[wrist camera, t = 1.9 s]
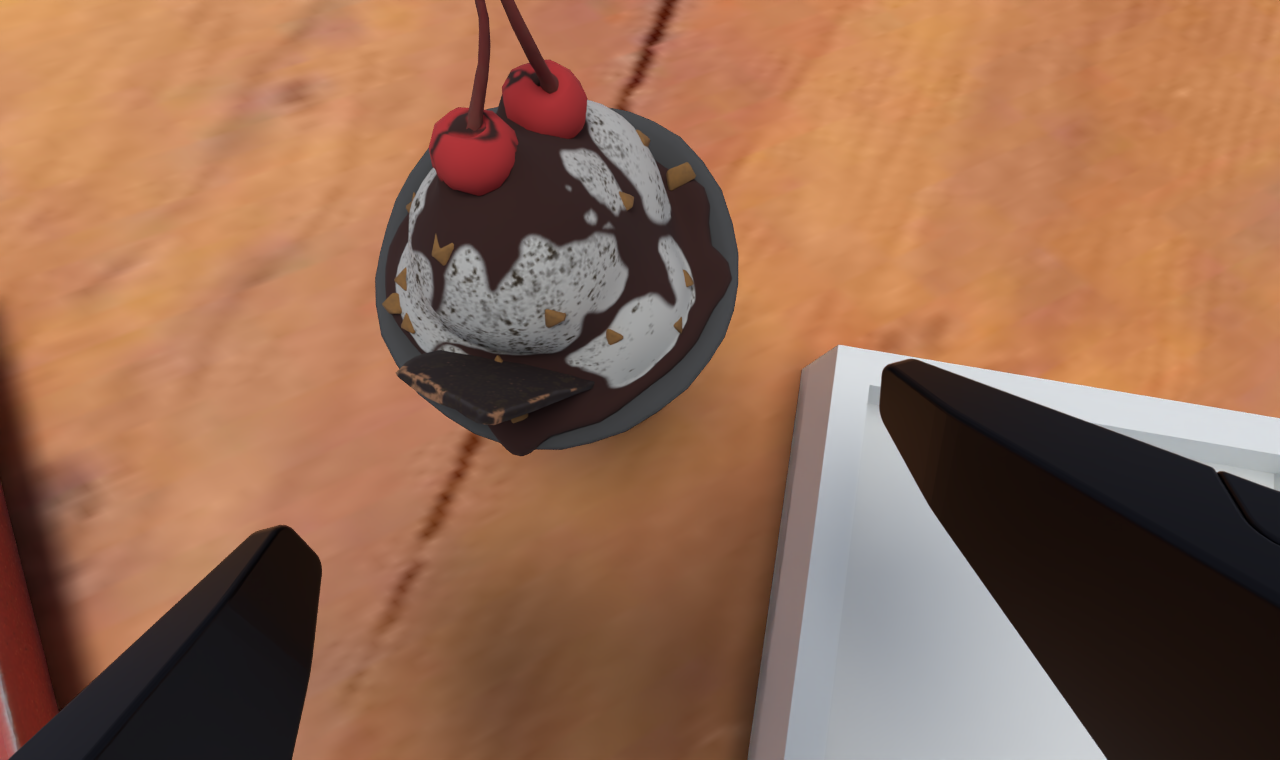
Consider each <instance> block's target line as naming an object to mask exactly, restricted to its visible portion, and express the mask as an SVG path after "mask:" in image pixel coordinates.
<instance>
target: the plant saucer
mask: <svg viewBox="0 0 1280 760" xmlns="http://www.w3.org/2000/svg"><path fill="white" fill-rule="evenodd" d="M58 713H59V711H58V706H57V703H56V699H55V695H54V691H53V687H52V683H51V679H50V675H49V671H48V666H47V662H46V658H45V654H44V650H43V647H42V643H41V639H40V635H39V632H38V628H37V624H36V620H35V617H34V613H33V609H32V605H31V601H30V597H29V593H28V589H27V585H26V581H25V577H24V573H23V569H22V565H21V561H20V557H19V553H18V549H17V545H16V541H15V537H14V533H13V529H12V525H11V521H10V517H9V513H8V509H7V505H6V501H5V497H4V493H3V489H2V485H1V481H0V760H8V759H9V758H10V757H11V756H12V755H13V754H14V753H15V752H16V751H18V750H19V749H20V748H21V747H22V746H23V745H24V744H25V743H26V742H27V741H28V740H29V739H31V738H32V737H33V736H34V735H35V734H36V733H37V732H38V731H39V730H40V729H41V728H42V727H44V726H45V725H46V724H47V723H48V722H49V721H50V720H51V719H52V718H53V717H54V716H55V715H57V714H58Z"/></svg>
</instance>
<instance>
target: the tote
mask: <svg viewBox="0 0 1280 760" xmlns="http://www.w3.org/2000/svg"><path fill="white" fill-rule="evenodd" d="M906 359H917V360H920V361H923V362H925V363H928V364H931V365H934V366H936V367H939V368H942V369H945V370H947V371H950V372H953V373H955V374H958V375H961V376H964V377H966V378H969V379H972V380H975V381H977V382H980V383H983V384H986V385H988V386H991V387H994V388H997V389H999V390H1002V391H1005V392H1008V393H1010V394H1013V395H1016V396H1019V397H1021V398H1024V399H1027V400H1030V401H1032V402H1035V403H1038V404H1041V405H1043V406H1046V407H1049V408H1051V409H1054V410H1057V411H1060V412H1062V413H1065V414H1068V415H1071V416H1073V417H1076V418H1079V419H1082V420H1084V421H1087V422H1090V423H1093V424H1095V425H1098V426H1101V427H1104V428H1106V429H1109V430H1112V431H1115V432H1117V433H1120V434H1123V435H1126V436H1128V437H1131V438H1134V439H1136V440H1139V441H1142V442H1145V443H1147V444H1150V445H1153V446H1156V447H1158V448H1161V449H1164V450H1167V451H1169V452H1172V453H1175V454H1178V455H1180V456H1183V457H1186V458H1189V459H1191V460H1194V461H1197V462H1200V463H1202V464H1205V465H1208V466H1211V467H1213V468H1214V469H1215V470H1216V472H1219V471H1225V472H1228V473H1230V474H1233V475H1236V476H1238V477H1241V478H1244V479H1247V480H1249V481H1252V482H1255V483H1258V484H1260V485H1263V486H1266V487H1269V488H1271V489H1274V490H1277V491H1280V418H1274V417H1268V416H1262V415H1256V414H1250V413H1244V412H1238V411H1232V410H1226V409H1220V408H1214V407H1208V406H1202V405H1196V404H1190V403H1184V402H1178V401H1172V400H1166V399H1160V398H1155V397H1149V396H1143V395H1137V394H1131V393H1125V392H1119V391H1113V390H1107V389H1101V388H1095V387H1089V386H1083V385H1077V384H1071V383H1065V382H1059V381H1053V380H1047V379H1041V378H1035V377H1029V376H1023V375H1017V374H1011V373H1005V372H999V371H993V370H987V369H981V368H975V367H969V366H963V365H957V364H951V363H945V362H939V361H933V360H927V359H921V358H915V357H909V356H903V355H897V354H891V353H885V352H879V351H873V350H867V349H861V348H855V347H849V346H843V345H837V346H836V347H834V348H833V349H831V350H830V351H828V352H827V353H825V354H824V355H822V356H821V357H819V358H818V359H816V360H815V361H813V362H812V363H810V364H809V365H807V366H806V367H804V368H803V369H802V374H801V381H800V388H799V395H798V402H797V409H796V417H795V424H794V431H793V438H792V445H791V452H790V459H789V466H788V474H787V481H786V488H785V495H784V502H783V509H782V516H781V524H780V531H779V538H778V545H777V552H776V559H775V566H774V573H773V581H772V588H771V595H770V602H769V609H768V616H767V623H766V630H765V638H764V645H763V652H762V659H761V666H760V673H759V680H758V687H757V695H756V702H755V709H754V716H753V723H752V730H751V737H750V745H749V752H748V759H747V760H1107V759H1106V757H1105V756H1104V754H1103V753H1102V752H1101V750H1100V749H1099V747H1098V746H1097V745H1096V743H1095V742H1094V740H1093V739H1092V737H1091V736H1090V735H1089V733H1088V732H1087V730H1086V729H1085V728H1084V726H1083V725H1082V723H1081V722H1080V720H1079V719H1078V718H1077V716H1076V715H1075V713H1074V712H1073V711H1072V709H1071V708H1070V706H1069V705H1068V703H1067V702H1066V701H1065V699H1064V698H1063V696H1062V695H1061V693H1060V692H1059V691H1058V689H1057V688H1056V686H1055V685H1054V684H1053V682H1052V681H1051V679H1050V678H1049V676H1048V675H1047V674H1046V672H1045V671H1044V669H1043V668H1042V667H1041V665H1040V664H1039V662H1038V661H1037V659H1036V658H1035V657H1034V655H1033V654H1032V652H1031V651H1030V649H1029V648H1028V647H1027V645H1026V644H1025V642H1024V641H1023V640H1022V638H1021V637H1020V635H1019V634H1018V632H1017V631H1016V630H1015V628H1014V627H1013V625H1012V624H1011V623H1010V621H1009V620H1008V618H1007V617H1006V615H1005V614H1004V613H1003V611H1002V610H1001V608H1000V607H999V605H998V604H997V603H996V601H995V600H994V598H993V597H992V596H991V594H990V593H989V591H988V590H987V588H986V587H985V586H984V584H983V583H982V581H981V580H980V579H979V577H978V576H977V574H976V573H975V571H974V570H973V569H972V567H971V566H970V564H969V563H968V562H967V560H966V559H965V557H964V556H963V554H962V553H961V552H960V550H959V549H958V547H957V546H956V544H955V543H954V542H953V540H952V539H951V537H950V536H949V535H948V533H947V532H946V530H945V529H944V527H943V526H942V525H941V523H940V522H939V520H938V519H937V517H936V516H935V514H934V513H933V511H932V510H931V508H930V507H929V505H928V503H927V502H926V500H925V498H924V496H923V495H922V493H921V491H920V489H919V487H918V486H917V484H916V482H915V480H914V478H913V477H912V475H911V473H910V471H909V469H908V467H907V466H906V464H905V462H904V460H903V458H902V456H901V455H900V453H899V451H898V449H897V447H896V445H895V444H894V442H893V440H892V438H891V436H890V434H889V433H888V431H887V429H886V427H885V425H884V423H883V421H882V419H881V416H880V411H879V401H880V388H881V376H882V371H883V368H884V367H885V366H886V365H888V364H891V363H894V362H898V361H902V360H906Z"/></svg>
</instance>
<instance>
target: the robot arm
mask: <svg viewBox="0 0 1280 760" xmlns="http://www.w3.org/2000/svg"><path fill="white" fill-rule="evenodd" d="M879 411H880V416H881V419H882V421H883V423H884V425H885V427H886V429H887V431H888V433H889V434H890V436H891V438H892V440H893V442H894V444H895V445H896V447H897V449H898V451H899V453H900V455H901V456H902V458H903V460H904V462H905V464H906V466H907V467H908V469H909V471H910V473H911V475H912V477H913V478H914V480H915V482H916V484H917V486H918V487H919V489H920V491H921V493H922V495H923V496H924V498H925V500H926V502H927V503H928V505H929V507H930V508H931V510H932V511H933V513H934V514H935V516H936V517H937V519H938V520H939V522H940V523H941V525H942V526H943V527H944V529H945V530H946V532H947V533H948V535H949V536H950V537H951V539H952V540H953V542H954V543H955V544H956V546H957V547H958V549H959V550H960V552H961V553H962V554H963V556H964V557H965V559H966V560H967V562H968V563H969V564H970V566H971V567H972V569H973V570H974V571H975V573H976V574H977V576H978V577H979V579H980V580H981V581H982V583H983V584H984V586H985V587H986V588H987V590H988V591H989V593H990V594H991V596H992V597H993V598H994V600H995V601H996V603H997V604H998V605H999V607H1000V608H1001V610H1002V611H1003V613H1004V614H1005V615H1006V617H1007V618H1008V620H1009V621H1010V623H1011V624H1012V625H1013V627H1014V628H1015V630H1016V631H1017V632H1018V634H1019V635H1020V637H1021V638H1022V640H1023V641H1024V642H1025V644H1026V645H1027V647H1028V648H1029V649H1030V651H1031V652H1032V654H1033V655H1034V657H1035V658H1036V659H1037V661H1038V662H1039V664H1040V665H1041V667H1042V668H1043V669H1044V671H1045V672H1046V674H1047V675H1048V676H1049V678H1050V679H1051V681H1052V682H1053V684H1054V685H1055V686H1056V688H1057V689H1058V691H1059V692H1060V693H1061V695H1062V696H1063V698H1064V699H1065V701H1066V702H1067V703H1068V705H1069V706H1070V708H1071V709H1072V711H1073V712H1074V713H1075V715H1076V716H1077V718H1078V719H1079V720H1080V722H1081V723H1082V725H1083V726H1084V728H1085V729H1086V730H1087V732H1088V733H1089V735H1090V736H1091V737H1092V739H1093V740H1094V742H1095V743H1096V745H1097V746H1098V747H1099V749H1100V750H1101V752H1102V753H1103V754H1104V756H1105V757H1106V759H1107V760H1280V491H1277V490H1274V489H1271V488H1269V487H1266V486H1263V485H1260V484H1258V483H1255V482H1252V481H1249V480H1247V479H1244V478H1241V477H1238V476H1236V475H1233V474H1230V473H1228V472H1225V471H1219V472H1216V470H1215V469H1214V468H1213V467H1211V466H1208V465H1205V464H1202V463H1200V462H1197V461H1194V460H1191V459H1189V458H1186V457H1183V456H1180V455H1178V454H1175V453H1172V452H1169V451H1167V450H1164V449H1161V448H1158V447H1156V446H1153V445H1150V444H1147V443H1145V442H1142V441H1139V440H1136V439H1134V438H1131V437H1128V436H1126V435H1123V434H1120V433H1117V432H1115V431H1112V430H1109V429H1106V428H1104V427H1101V426H1098V425H1095V424H1093V423H1090V422H1087V421H1084V420H1082V419H1079V418H1076V417H1073V416H1071V415H1068V414H1065V413H1062V412H1060V411H1057V410H1054V409H1051V408H1049V407H1046V406H1043V405H1041V404H1038V403H1035V402H1032V401H1030V400H1027V399H1024V398H1021V397H1019V396H1016V395H1013V394H1010V393H1008V392H1005V391H1002V390H999V389H997V388H994V387H991V386H988V385H986V384H983V383H980V382H977V381H975V380H972V379H969V378H966V377H964V376H961V375H958V374H955V373H953V372H950V371H947V370H945V369H942V368H939V367H936V366H934V365H931V364H928V363H925V362H923V361H920V360H917V359H906V360H902V361H898V362H894V363H891V364H888V365H886V366H885V367H884V368H883V371H882V376H881V388H880V401H879ZM321 577H322V566H321V562H320V559H319V557H318V555H317V554H316V553H315V552H314V551H313V550H312V549H311V548H310V547H309V546H308V545H307V544H306V542H305V541H304V540H303V539H302V538H301V537H300V536H299V535H298V534H297V533H296V532H295V531H294V530H293V529H292V528H291V527H289V526H286V525H278V526H274V527H270V528H266V529H263V530H259V531H257V532H255V533H253V534H251V535H250V536H249V537H248V538H247V539H246V540H245V541H244V542H243V543H241V544H240V545H239V546H238V547H237V548H236V549H235V550H234V551H233V552H232V553H231V554H230V555H228V556H227V557H226V558H225V559H224V560H223V561H222V562H221V563H220V564H219V565H218V566H217V567H216V568H214V569H213V570H212V571H211V572H210V573H209V574H208V575H207V576H206V577H205V578H204V579H203V580H201V581H200V582H199V583H198V584H197V585H196V586H195V587H194V588H193V589H192V590H191V591H190V592H188V593H187V594H186V595H185V596H184V597H183V598H182V599H181V600H180V601H179V602H178V603H177V604H175V605H174V606H173V607H172V608H171V609H170V610H169V611H168V612H167V613H166V614H165V615H164V616H163V617H161V618H160V619H159V620H158V621H157V622H156V623H155V624H154V625H153V626H152V627H151V628H150V629H148V630H147V631H146V632H145V633H144V634H143V635H142V636H141V637H140V638H139V639H138V640H137V641H135V642H134V643H133V644H132V645H131V646H130V647H129V648H128V649H127V650H126V651H125V652H124V653H122V654H121V655H120V656H119V657H118V658H117V659H116V660H115V661H114V662H113V663H112V664H111V665H110V666H108V667H107V668H106V669H105V670H104V671H103V672H102V673H101V674H100V675H99V676H98V677H97V678H95V679H94V680H93V681H92V682H91V683H90V684H89V685H88V686H87V687H86V688H85V689H84V690H82V691H81V692H80V693H79V694H78V695H77V696H76V697H75V698H74V699H73V700H72V701H71V702H69V703H68V704H67V705H66V706H65V707H64V708H63V709H62V710H61V711H60V712H59V713H58V714H57V715H55V716H54V717H53V718H52V719H51V720H50V721H49V722H48V723H47V724H46V725H45V726H44V727H42V728H41V729H40V730H39V731H38V732H37V733H36V734H35V735H34V736H33V737H32V738H31V739H29V740H28V741H27V742H26V743H25V744H24V745H23V746H22V747H21V748H20V749H19V750H18V751H16V752H15V753H14V754H13V755H12V756H11V757H10V758H9V759H8V760H292V756H293V752H294V747H295V743H296V738H297V734H298V729H299V724H300V720H301V715H302V711H303V706H304V701H305V697H306V692H307V687H308V682H309V677H310V671H311V664H312V657H313V649H314V640H315V631H316V622H317V613H318V604H319V595H320V586H321Z"/></svg>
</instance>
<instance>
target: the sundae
mask: <svg viewBox="0 0 1280 760" xmlns="http://www.w3.org/2000/svg"><path fill="white" fill-rule="evenodd" d="M475 3H476V8H477V12H478V17H479V52H478V66H477V70H476V74H475V80H474V86H473V92H472V97H471V102H470V107H469V108H461V107H458V108H456V109H454V110H452V111H450V112H449V113H448V114H446V115H445V116H444V117H443V118H442V119H440V120H439V121H438V122H437V123H435V125H434V129H433V133H432V137H431V141H430V145H429V148H428V150H427V151H426V152H425V154H424V155H423V156H422V158H421V159H420V160H419V162H418V163H417V165H416V166H415V167H414V169H413V170H412V171H411V173H410V174H409V176H408V178H407V180H406V182H405V184H404V186H403V187H402V189H401V191H400V193H399V195H398V197H397V199H396V201H395V204H394V207H393V210H392V213H391V216H390V219H389V222H388V225H387V229H386V232H385V236H384V240H383V244H382V247H381V251H380V256H379V261H378V267H377V272H376V277H375V286H376V307H377V313H378V319H379V324H380V330H381V335H382V337H383V339H384V341H385V343H386V345H387V347H388V349H389V351H390V353H391V355H392V357H393V359H394V361H395V363H396V364H397V366H398V367H399V370H398V371H397V372H396V374H397V376H398V377H399V378H400V379H401V380H403V381H404V382H405V383H406V384H408V385H409V386H410V387H412V388H413V389H414V390H416V392H417V393H418V394H419V395H420V396H422V397H423V398H424V399H425V400H427V401H428V402H429V403H430V404H432V405H433V406H434V407H435V408H437V409H438V410H439V411H440V412H442V413H443V414H444V415H445V416H447V417H448V418H450V419H451V420H453V421H455V422H456V423H458V424H460V425H461V426H463V427H464V428H466V429H468V430H469V431H471V432H473V433H474V434H477V435H480V436H483V437H485V438H488V439H491V440H494V441H496V442H499V443H501V444H502V445H503V446H504V447H505V448H506V449H507V450H508V451H509V452H511V453H512V454H514V455H518V456H524V455H527V454H529V453H531V452H532V451H533V450H535V449H548V450H562V449H567V448H571V447H576V446H580V445H585V444H589V443H593V442H596V441H599V440H602V439H605V438H608V437H611V436H614V435H617V434H620V433H623V432H625V431H627V430H629V429H631V428H632V427H634V426H636V425H637V424H639V423H640V422H642V421H644V420H645V419H647V418H649V417H650V416H652V415H653V414H655V413H657V412H658V411H660V410H661V409H662V408H663V407H665V406H666V405H667V404H668V403H670V402H671V401H672V400H674V399H675V398H676V397H677V396H679V395H680V394H681V393H683V392H684V391H685V390H686V389H688V387H689V386H690V385H691V384H692V382H693V381H694V380H695V379H696V377H697V376H698V375H699V374H700V372H701V371H702V370H703V369H704V367H705V366H706V365H707V364H708V362H709V361H710V360H711V358H712V356H713V355H714V353H715V352H716V350H717V348H718V347H719V345H720V344H721V342H722V340H723V339H724V337H725V335H726V332H727V329H728V326H729V323H730V320H731V317H732V314H733V311H734V306H735V300H736V294H737V288H738V249H737V244H736V239H735V234H734V229H733V224H732V220H731V217H730V214H729V211H728V208H727V205H726V202H725V199H724V196H723V193H722V190H721V188H720V187H719V185H718V184H717V182H716V181H715V179H714V178H713V176H712V175H711V173H710V172H709V170H708V169H707V167H706V165H705V164H704V162H703V161H702V160H701V159H700V158H699V157H698V156H697V154H696V153H695V152H694V151H693V150H692V149H691V148H690V147H689V146H688V145H687V144H686V143H685V142H684V140H683V139H682V138H681V137H679V136H678V135H676V134H674V133H672V132H671V131H669V130H667V129H666V128H664V127H662V126H661V125H659V124H657V123H655V122H654V121H651V120H649V119H646V118H644V117H641V116H639V115H636V114H634V113H631V112H628V111H623V110H618V109H613V108H608V107H606V106H604V105H602V104H599V103H596V102H593V101H590V100H587V97H586V94H585V92H584V90H583V88H582V86H581V83H580V82H579V80H578V79H577V78H576V77H575V76H574V74H573V73H572V72H571V71H570V70H569V69H567V68H565V67H563V66H561V65H560V64H558V63H556V62H554V61H551V60H544V59H543V58H542V56H541V54H540V52H539V50H538V48H537V46H536V44H535V42H534V40H533V38H532V36H531V34H530V32H529V30H528V28H527V26H526V24H525V22H524V20H523V18H522V16H521V14H520V12H519V10H518V8H517V6H516V4H515V2H514V0H501V3H502V5H503V7H504V9H505V12H506V14H507V16H508V19H509V21H510V23H511V26H512V28H513V30H514V32H515V34H516V36H517V38H518V40H519V42H520V44H521V46H522V48H523V50H524V52H525V54H526V56H527V58H528V60H529V62H530V63H527V64H524V65H521V66H519V67H517V68H515V69H512V70H511V72H510V74H509V76H508V77H507V79H506V81H505V83H504V85H503V86H502V97H501V100H500V103H499V106H498V107H495V108H491V109H487V110H484V103H485V96H486V89H487V81H488V73H489V60H490V30H489V17H488V13H487V8H486V4H485V0H475Z"/></svg>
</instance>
